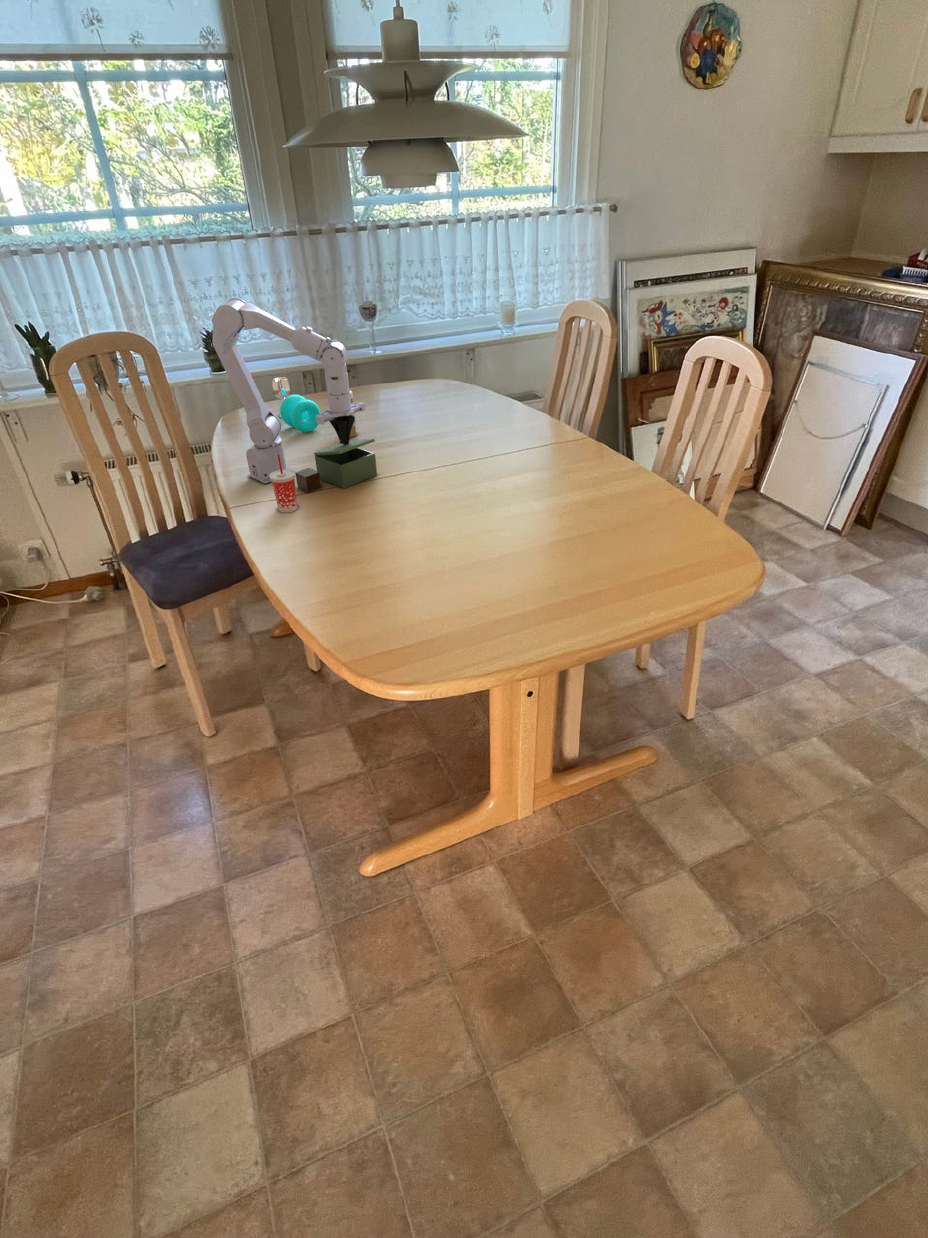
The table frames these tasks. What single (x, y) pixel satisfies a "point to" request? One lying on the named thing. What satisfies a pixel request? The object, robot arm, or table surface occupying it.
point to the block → (308, 480)
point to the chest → (346, 467)
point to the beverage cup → (284, 489)
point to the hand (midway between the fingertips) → (344, 443)
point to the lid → (344, 447)
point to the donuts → (299, 413)
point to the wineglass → (281, 388)
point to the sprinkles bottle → (353, 430)
